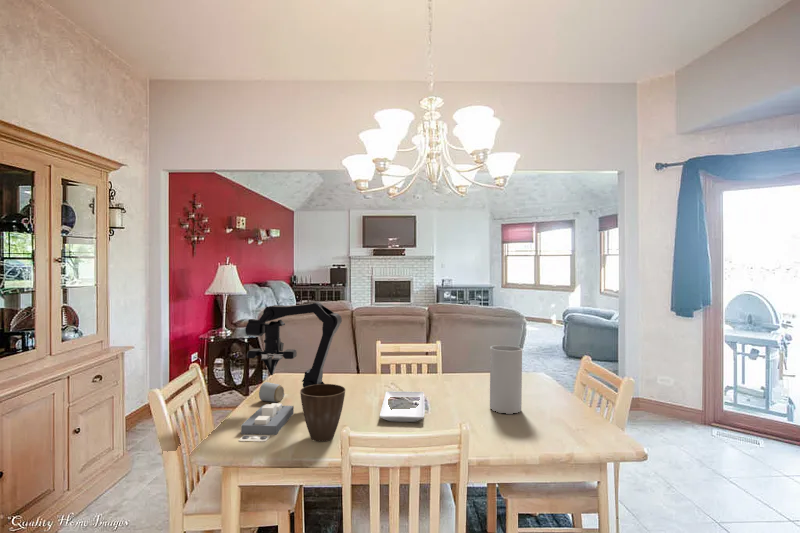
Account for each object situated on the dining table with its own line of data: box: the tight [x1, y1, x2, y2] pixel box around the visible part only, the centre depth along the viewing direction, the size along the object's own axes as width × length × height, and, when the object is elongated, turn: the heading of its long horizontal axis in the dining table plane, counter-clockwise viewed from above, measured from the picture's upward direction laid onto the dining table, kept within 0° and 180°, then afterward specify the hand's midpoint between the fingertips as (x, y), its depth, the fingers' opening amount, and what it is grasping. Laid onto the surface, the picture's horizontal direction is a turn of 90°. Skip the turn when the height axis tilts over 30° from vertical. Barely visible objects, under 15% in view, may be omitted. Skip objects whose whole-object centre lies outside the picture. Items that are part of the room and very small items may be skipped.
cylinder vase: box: [489, 344, 523, 415], centre depth 171 cm, size 12×12×25 cm
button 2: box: [271, 402, 283, 411], centre depth 160 cm, size 4×4×4 cm
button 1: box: [254, 416, 270, 425], centre depth 146 cm, size 4×4×4 cm
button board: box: [240, 404, 295, 436], centre depth 153 cm, size 12×21×3 cm, turn 178°
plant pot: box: [299, 383, 346, 443], centre depth 141 cm, size 15×15×16 cm
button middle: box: [261, 403, 277, 418], centre depth 153 cm, size 4×4×4 cm
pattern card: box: [237, 434, 272, 443], centre depth 139 cm, size 9×5×1 cm, turn 88°
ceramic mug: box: [258, 381, 285, 403], centre depth 180 cm, size 11×8×8 cm
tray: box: [379, 390, 426, 423], centre depth 169 cm, size 17×32×4 cm, turn 177°
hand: (271, 375), depth 170 cm, fingers closed
